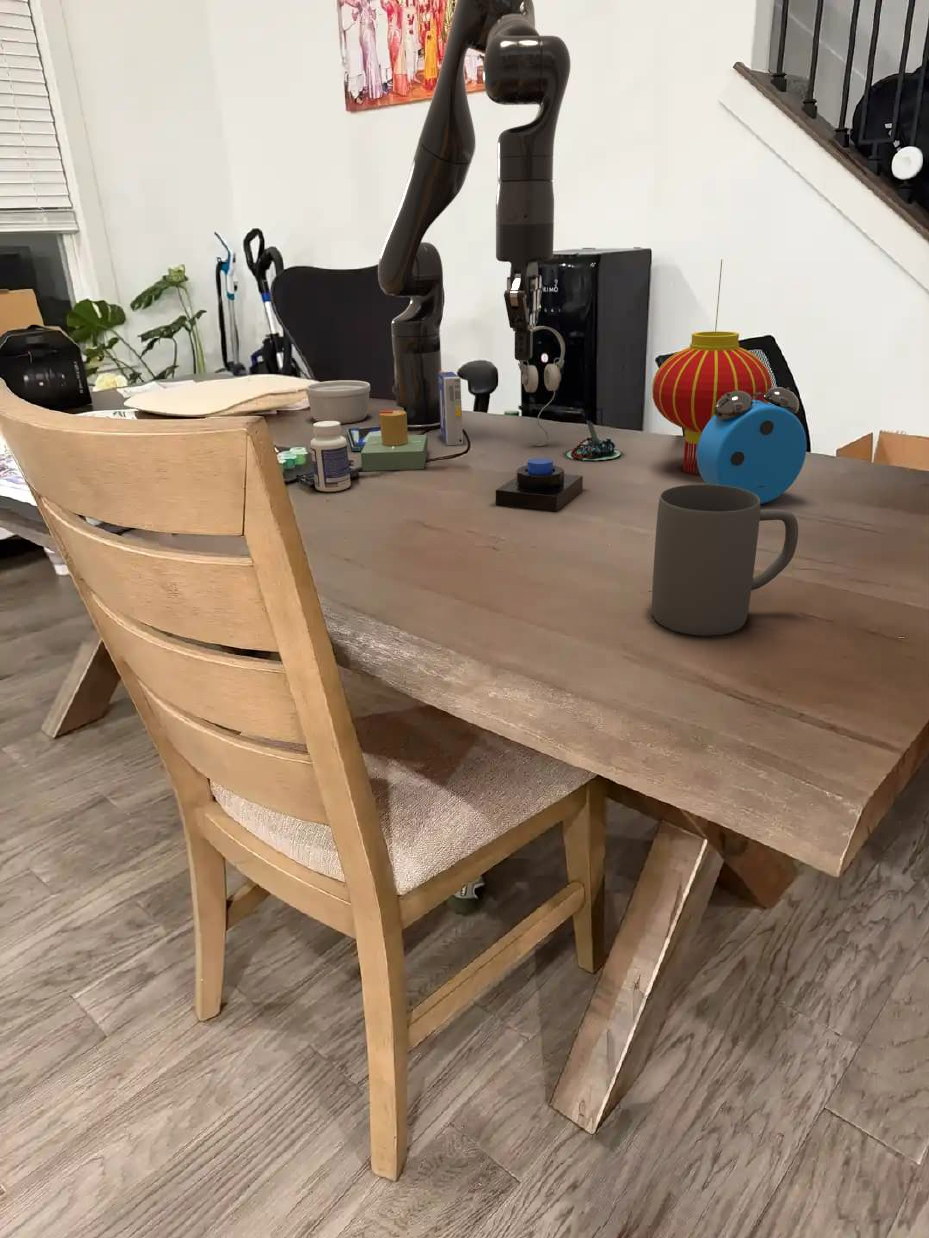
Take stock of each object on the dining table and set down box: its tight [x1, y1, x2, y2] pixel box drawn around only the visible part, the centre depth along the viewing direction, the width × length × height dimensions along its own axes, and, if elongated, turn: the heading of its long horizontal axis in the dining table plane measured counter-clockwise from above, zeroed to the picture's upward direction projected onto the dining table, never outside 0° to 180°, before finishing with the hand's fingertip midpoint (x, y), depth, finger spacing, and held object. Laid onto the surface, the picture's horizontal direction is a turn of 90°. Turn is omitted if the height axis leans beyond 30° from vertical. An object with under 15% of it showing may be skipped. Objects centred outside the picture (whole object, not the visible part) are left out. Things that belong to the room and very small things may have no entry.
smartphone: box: [346, 425, 381, 452], centre depth 156 cm, size 7×1×15 cm
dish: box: [566, 419, 622, 461], centre depth 141 cm, size 8×7×8 cm
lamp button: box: [526, 457, 554, 474], centre depth 118 cm, size 4×4×2 cm
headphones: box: [517, 325, 566, 447], centre depth 144 cm, size 8×4×20 cm, turn 105°
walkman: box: [438, 370, 464, 446], centre depth 152 cm, size 8×3×12 cm, turn 11°
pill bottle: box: [310, 421, 351, 493], centre depth 126 cm, size 5×5×10 cm
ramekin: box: [305, 379, 371, 425], centre depth 175 cm, size 13×13×7 cm
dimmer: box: [360, 434, 429, 472], centre depth 141 cm, size 12×10×3 cm
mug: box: [651, 483, 799, 637], centre depth 80 cm, size 14×9×12 cm
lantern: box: [651, 259, 773, 475], centre depth 124 cm, size 17×17×30 cm
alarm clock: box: [696, 386, 808, 505], centre depth 112 cm, size 13×6×15 cm, turn 104°
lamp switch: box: [495, 464, 584, 512], centre depth 119 cm, size 11×9×4 cm
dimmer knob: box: [379, 409, 409, 446], centre depth 140 cm, size 4×4×5 cm
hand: (523, 359), depth 117 cm, fingers closed
